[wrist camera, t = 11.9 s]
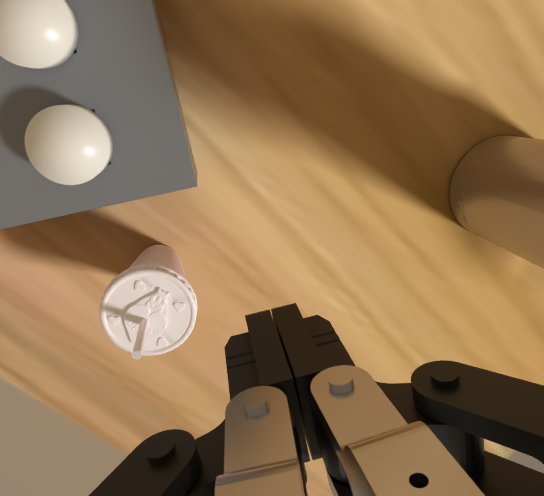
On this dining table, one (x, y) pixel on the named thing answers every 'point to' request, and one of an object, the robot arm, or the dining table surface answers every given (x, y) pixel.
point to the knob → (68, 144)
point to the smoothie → (149, 304)
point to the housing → (108, 105)
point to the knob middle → (37, 32)
